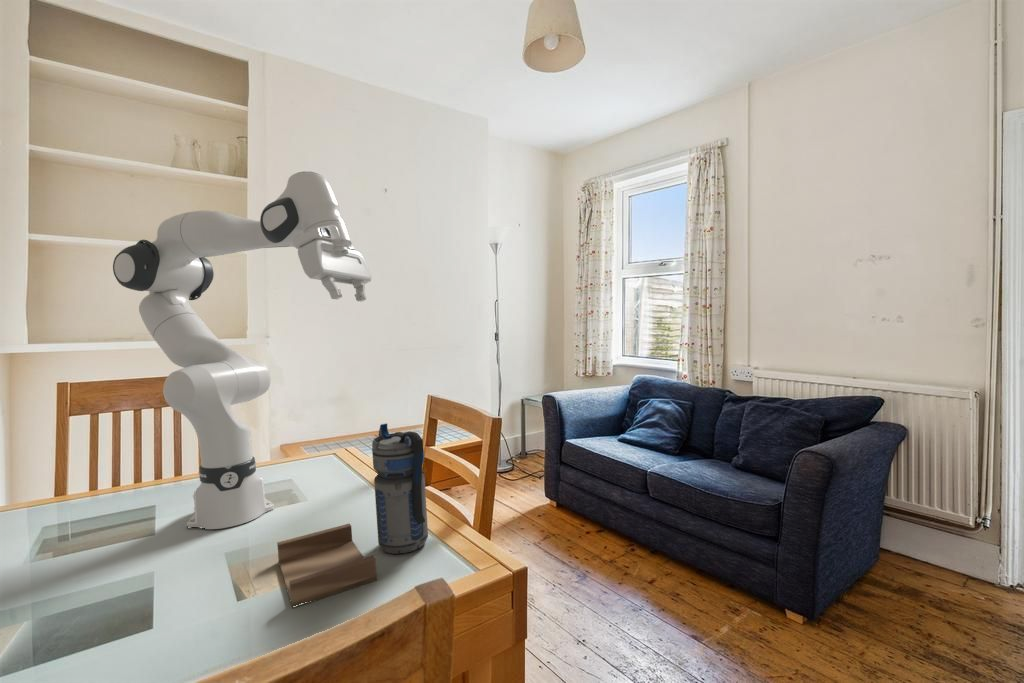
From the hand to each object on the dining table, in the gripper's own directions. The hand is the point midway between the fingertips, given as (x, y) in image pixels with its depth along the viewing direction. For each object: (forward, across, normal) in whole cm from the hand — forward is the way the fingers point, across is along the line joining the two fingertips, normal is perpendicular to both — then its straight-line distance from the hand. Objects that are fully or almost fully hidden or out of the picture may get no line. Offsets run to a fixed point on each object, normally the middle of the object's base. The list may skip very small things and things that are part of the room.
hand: (350, 299), depth 105 cm
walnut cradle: (+50, +16, -15) cm, 55 cm away
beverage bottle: (+54, +4, -4) cm, 54 cm away
